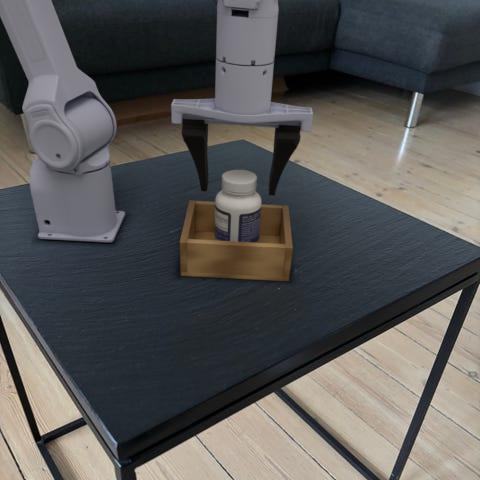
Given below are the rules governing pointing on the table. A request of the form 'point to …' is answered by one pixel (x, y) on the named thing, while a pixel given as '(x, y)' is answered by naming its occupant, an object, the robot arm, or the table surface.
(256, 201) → the pill bottle
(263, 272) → the bin
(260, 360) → the table surface
